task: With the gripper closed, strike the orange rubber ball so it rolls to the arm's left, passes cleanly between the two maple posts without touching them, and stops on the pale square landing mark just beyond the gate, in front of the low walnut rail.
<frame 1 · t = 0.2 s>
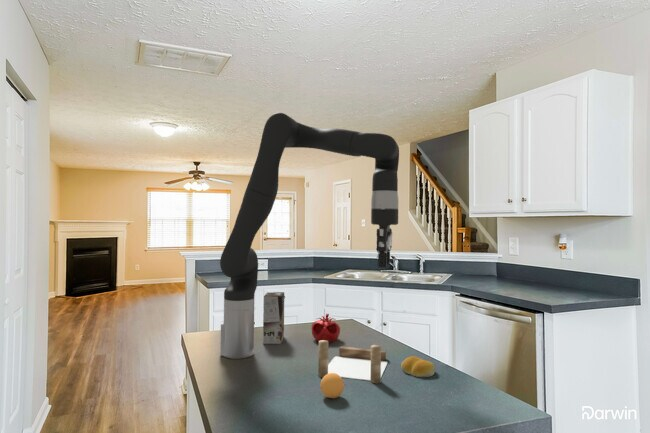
hand: (384, 265, 116), 29 cm above the countertop, tool pointing down, fingers open, 8 cm apart
post 1: (323, 375, 112), on the countertop
ball: (332, 385, 98), on the countertop
stopper rail: (362, 357, 127), on the countertop
coffee box: (273, 341, 145), on the countertop
landing mark: (355, 368, 117), on the countertop
bread roll: (417, 373, 115), on the countertop
post 2: (375, 381, 108), on the countertop
pomegranate: (325, 340, 146), on the countertop
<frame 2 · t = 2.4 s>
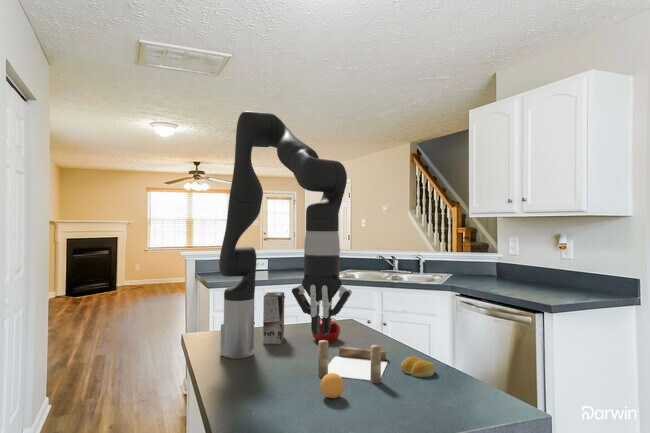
hand: (321, 334, 89), 17 cm above the countertop, tool pointing down, fingers closed
nothing on the countertop moved.
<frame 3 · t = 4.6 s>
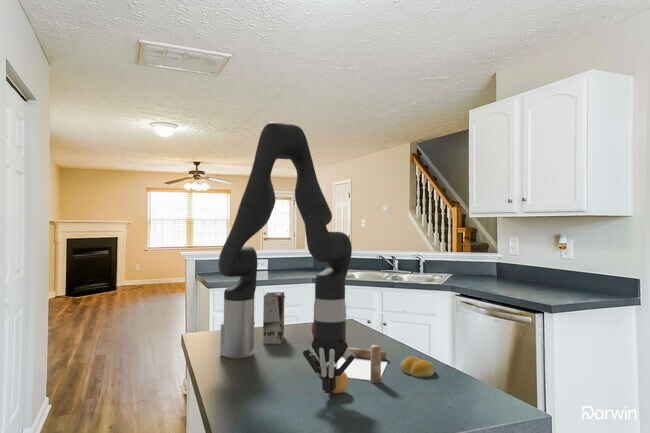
hand: (328, 392, 97), 1 cm above the countertop, tool pointing down, fingers closed
ball: (336, 380, 100), on the countertop, touching gripper
everything else where it was.
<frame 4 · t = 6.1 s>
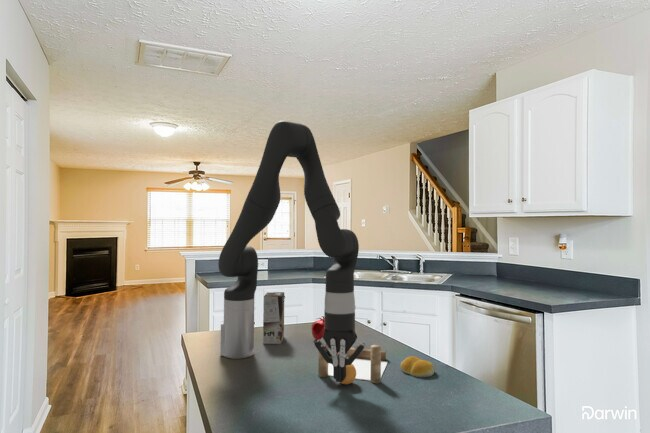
hand: (339, 380, 103), 2 cm above the countertop, tool pointing down, fingers closed
ball: (345, 372, 106), on the countertop, touching gripper
everything else where it was.
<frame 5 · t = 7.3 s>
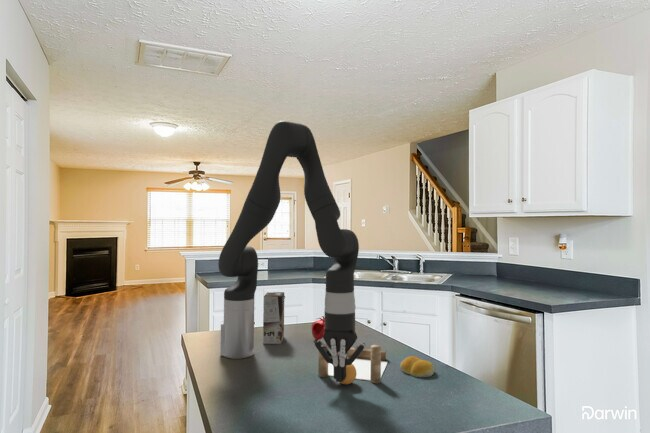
hand: (340, 380, 103), 2 cm above the countertop, tool pointing down, fingers closed
nothing on the countertop moved.
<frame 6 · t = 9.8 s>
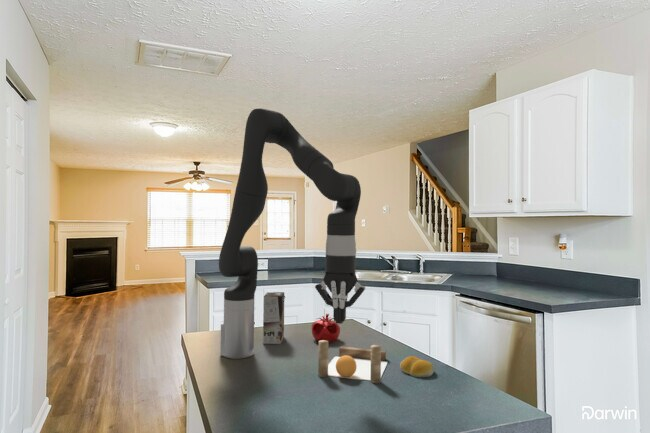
hand: (339, 322, 104), 16 cm above the countertop, tool pointing down, fingers closed
ball: (346, 366, 111), on the countertop
everything else where it was.
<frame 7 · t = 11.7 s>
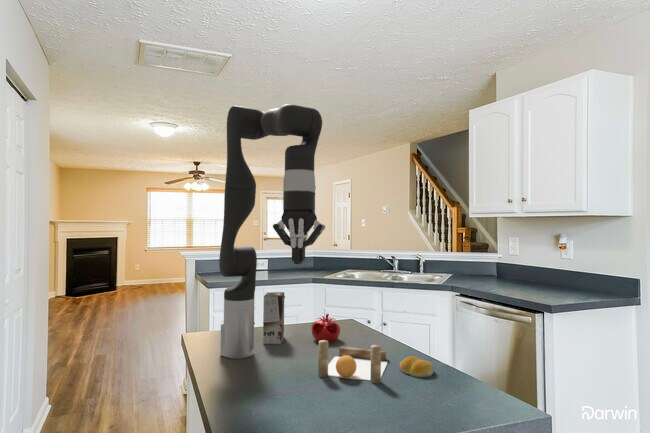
hand: (298, 263, 98), 31 cm above the countertop, tool pointing down, fingers closed
nothing on the countertop moved.
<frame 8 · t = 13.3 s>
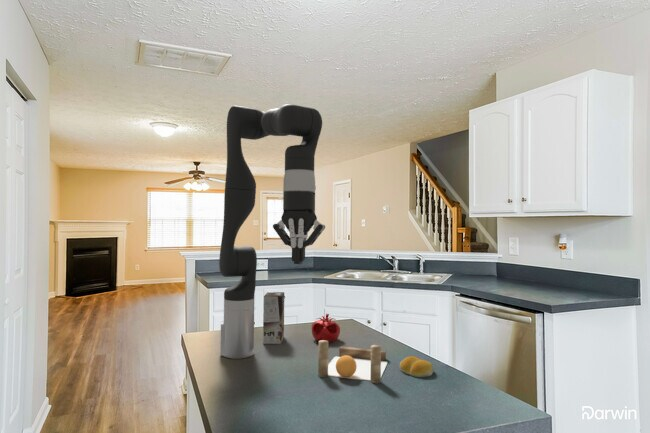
hand: (298, 263, 98), 31 cm above the countertop, tool pointing down, fingers closed
nothing on the countertop moved.
at the end: ball 7.1 cm from the landing mark (horizontally); ball never touched post 1; ball never touched post 2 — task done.
